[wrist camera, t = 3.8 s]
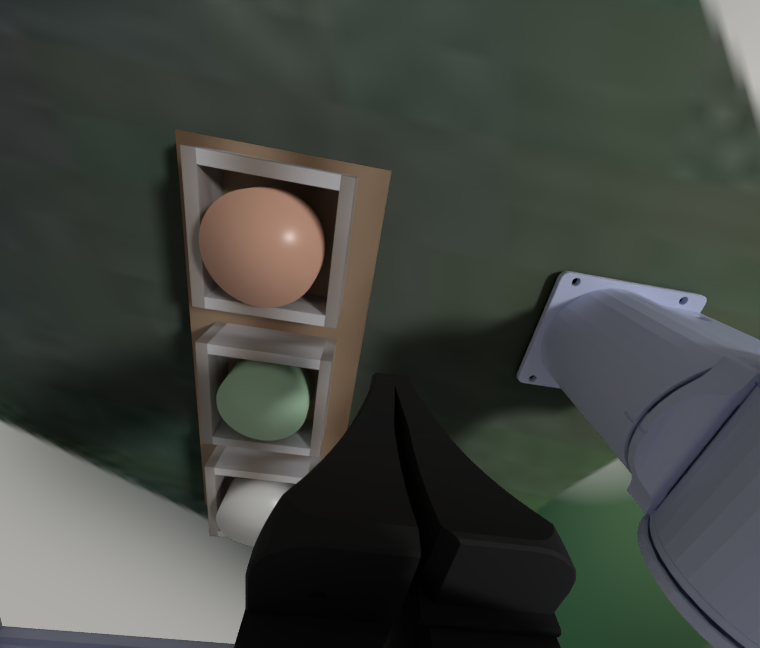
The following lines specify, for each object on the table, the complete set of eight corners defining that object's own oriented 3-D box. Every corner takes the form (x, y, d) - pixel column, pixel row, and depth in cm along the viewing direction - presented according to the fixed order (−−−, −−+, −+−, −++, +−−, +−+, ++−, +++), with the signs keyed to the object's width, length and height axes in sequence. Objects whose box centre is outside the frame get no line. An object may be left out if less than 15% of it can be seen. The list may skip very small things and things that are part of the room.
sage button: (316, 357, 19) (310, 376, 18) (309, 422, 21) (303, 445, 20) (230, 344, 19) (214, 363, 17) (231, 411, 21) (217, 434, 19)
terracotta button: (331, 197, 15) (325, 201, 13) (321, 299, 17) (314, 315, 15) (217, 176, 14) (195, 177, 13) (221, 283, 16) (202, 297, 15)
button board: (390, 170, 17) (393, 171, 13) (334, 496, 28) (327, 551, 24) (196, 133, 17) (138, 122, 13) (216, 483, 28) (188, 537, 24)
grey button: (302, 475, 22) (296, 502, 21) (297, 522, 24) (291, 550, 23) (227, 466, 22) (214, 493, 20) (229, 514, 24) (217, 542, 22)
